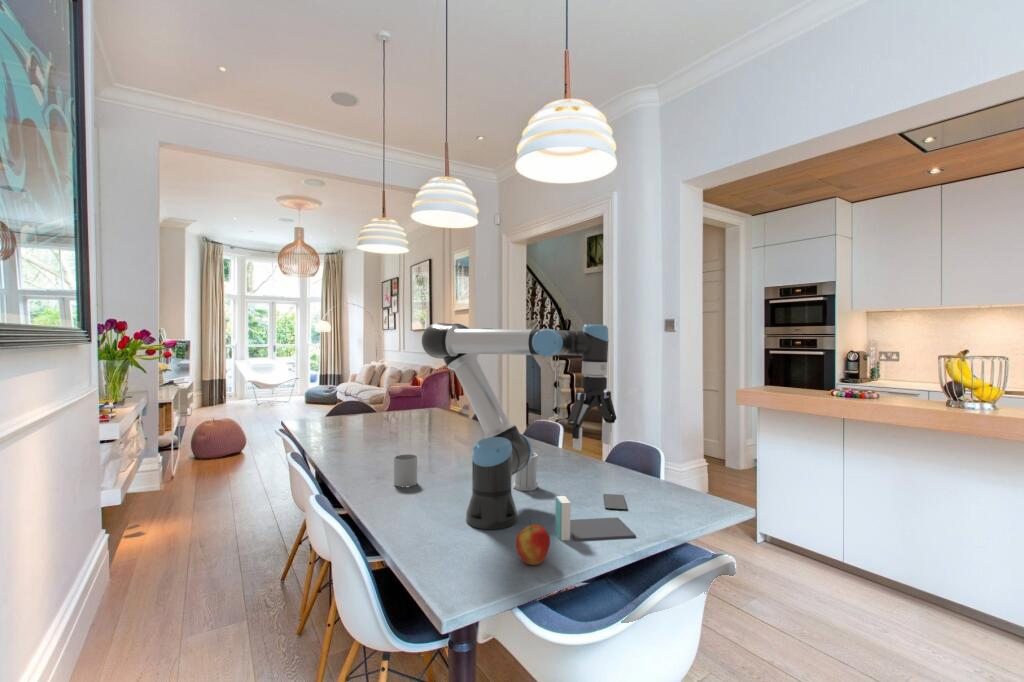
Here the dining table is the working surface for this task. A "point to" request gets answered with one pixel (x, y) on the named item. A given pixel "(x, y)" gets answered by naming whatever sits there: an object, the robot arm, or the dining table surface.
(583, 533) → the mat
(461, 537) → the dining table surface
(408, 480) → the cup
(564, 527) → the teal white block
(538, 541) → the apple
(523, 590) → the dining table surface
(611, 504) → the smartphone
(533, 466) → the cup
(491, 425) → the robot arm
